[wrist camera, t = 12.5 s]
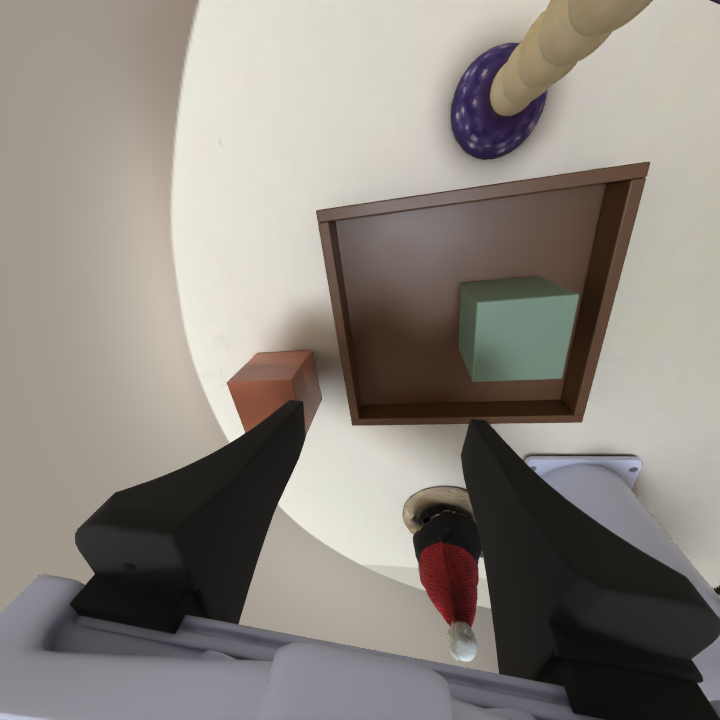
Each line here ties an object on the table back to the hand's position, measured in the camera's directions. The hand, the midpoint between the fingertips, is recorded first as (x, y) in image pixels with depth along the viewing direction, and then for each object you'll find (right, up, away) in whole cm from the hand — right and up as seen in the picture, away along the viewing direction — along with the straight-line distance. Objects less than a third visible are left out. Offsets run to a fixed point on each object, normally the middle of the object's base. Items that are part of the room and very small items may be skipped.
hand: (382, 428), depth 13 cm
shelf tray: (+5, +6, +6) cm, 10 cm away
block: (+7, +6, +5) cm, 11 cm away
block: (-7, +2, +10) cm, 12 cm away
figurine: (+7, -12, +15) cm, 21 cm away
